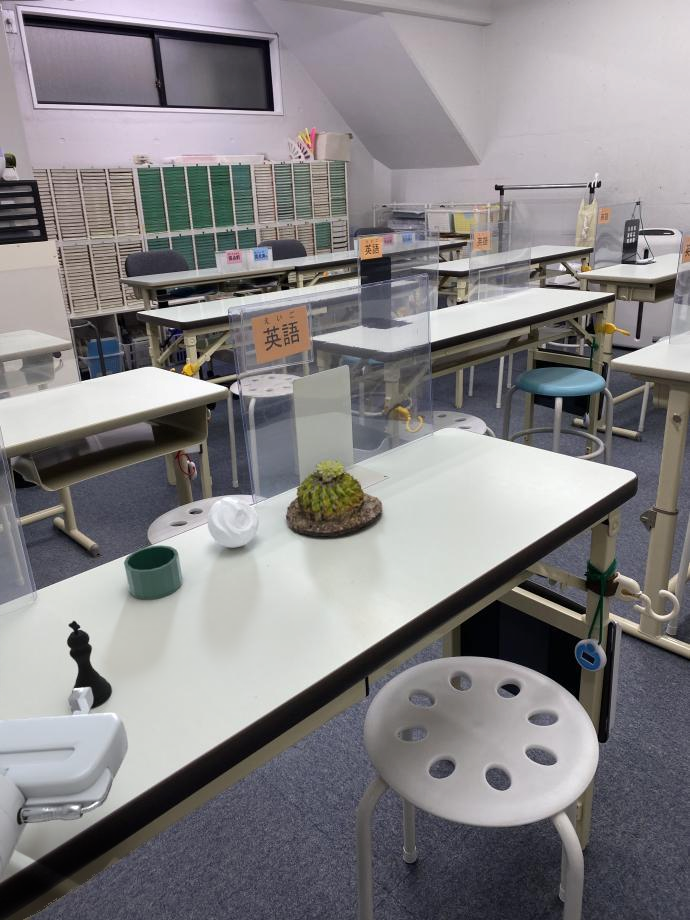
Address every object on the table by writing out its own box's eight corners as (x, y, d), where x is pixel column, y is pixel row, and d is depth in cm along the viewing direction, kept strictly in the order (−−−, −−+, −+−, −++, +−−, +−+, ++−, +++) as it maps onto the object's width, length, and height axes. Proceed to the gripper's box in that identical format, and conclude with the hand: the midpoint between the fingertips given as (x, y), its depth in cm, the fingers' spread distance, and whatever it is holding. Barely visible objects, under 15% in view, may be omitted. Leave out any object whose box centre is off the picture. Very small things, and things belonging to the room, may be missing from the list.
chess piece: (91, 714, 74) (72, 637, 71) (62, 703, 76) (42, 627, 72) (120, 688, 78) (103, 614, 74) (92, 678, 80) (74, 605, 76)
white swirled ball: (231, 561, 104) (225, 515, 101) (200, 547, 108) (193, 503, 105) (269, 540, 109) (264, 496, 106) (238, 528, 114) (232, 485, 111)
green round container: (123, 601, 95) (117, 573, 93) (137, 573, 102) (131, 547, 100) (176, 597, 95) (171, 569, 93) (186, 570, 102) (182, 543, 100)
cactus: (348, 547, 105) (344, 489, 102) (266, 527, 113) (260, 473, 110) (399, 503, 119) (398, 451, 115) (323, 488, 127) (319, 439, 123)
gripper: (91, 783, 49) (140, 660, 62) (-194, 802, 49) (-86, 676, 62) (107, 847, 51) (151, 716, 64) (-164, 865, 51) (-66, 730, 64)
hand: (33, 696), depth 63 cm, fingers open, 8 cm apart
